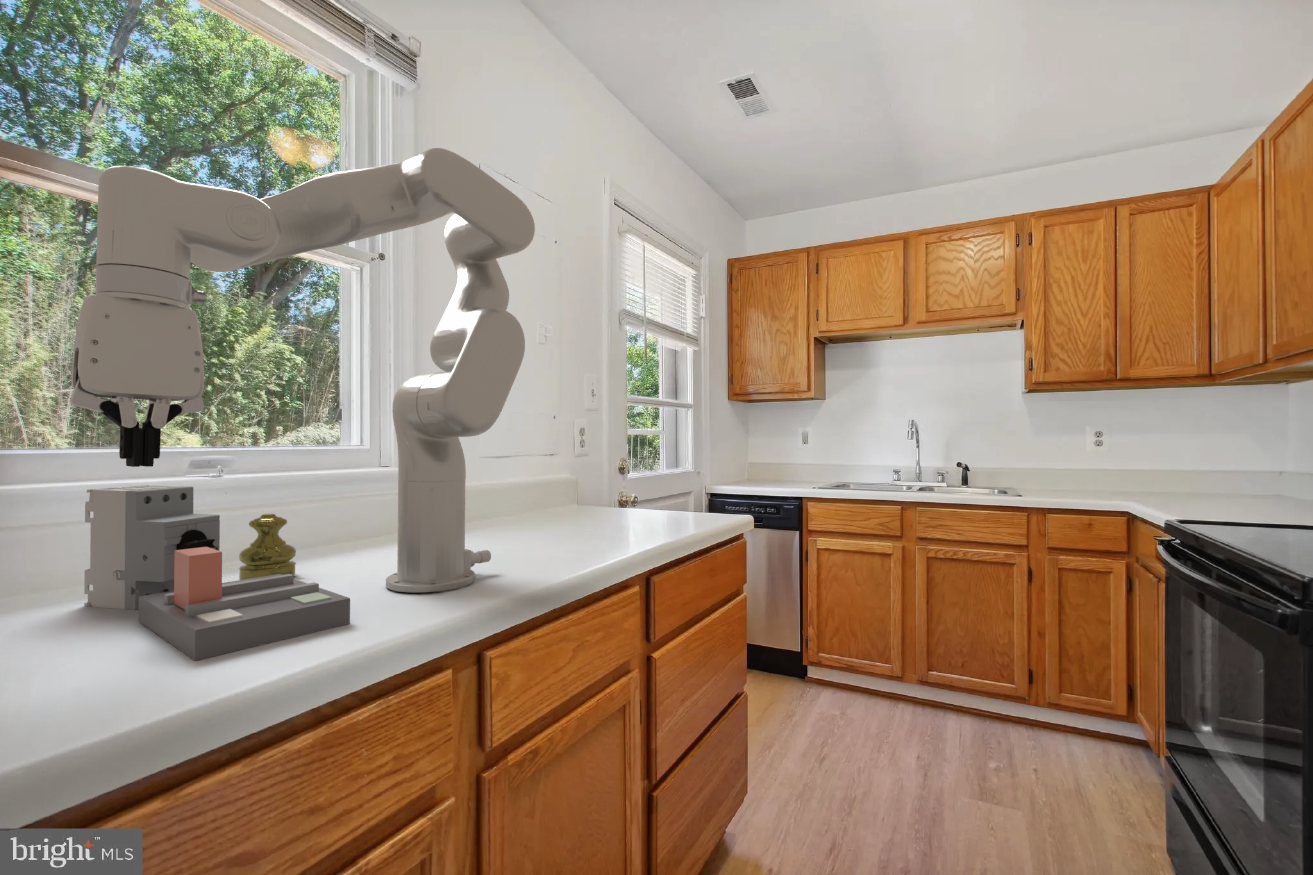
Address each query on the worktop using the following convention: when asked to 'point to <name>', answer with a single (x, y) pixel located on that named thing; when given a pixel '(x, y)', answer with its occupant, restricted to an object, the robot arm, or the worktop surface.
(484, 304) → the robot arm
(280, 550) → the brass knob
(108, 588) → the circuit breaker
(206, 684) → the worktop surface
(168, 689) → the worktop surface
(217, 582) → the handle
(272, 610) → the breaker panel
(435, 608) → the worktop surface
